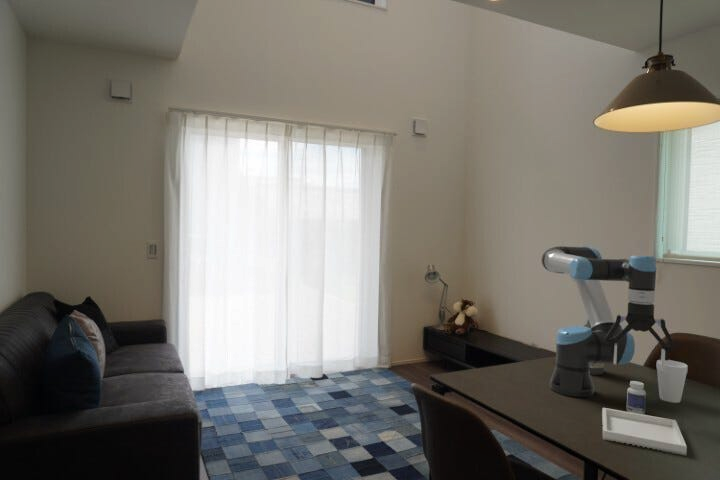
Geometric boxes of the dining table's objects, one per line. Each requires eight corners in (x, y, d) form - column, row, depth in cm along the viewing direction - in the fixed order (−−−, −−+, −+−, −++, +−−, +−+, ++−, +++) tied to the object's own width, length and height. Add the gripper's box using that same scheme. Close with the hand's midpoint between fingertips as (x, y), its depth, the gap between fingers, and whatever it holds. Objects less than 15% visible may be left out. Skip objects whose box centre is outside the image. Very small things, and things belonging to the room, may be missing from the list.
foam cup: (686, 406, 166) (688, 369, 166) (654, 400, 171) (656, 364, 171) (685, 398, 174) (686, 362, 174) (655, 392, 179) (656, 358, 179)
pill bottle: (647, 415, 157) (649, 386, 156) (629, 414, 158) (631, 384, 158) (641, 409, 162) (642, 380, 162) (624, 408, 163) (625, 379, 163)
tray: (602, 439, 138) (603, 430, 138) (602, 415, 156) (602, 407, 156) (686, 455, 130) (686, 446, 129) (675, 428, 147) (675, 420, 147)
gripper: (598, 300, 161) (596, 363, 161) (688, 307, 150) (685, 375, 150) (598, 297, 167) (596, 358, 168) (684, 304, 156) (681, 369, 157)
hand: (638, 366), depth 159 cm, fingers open, 13 cm apart
